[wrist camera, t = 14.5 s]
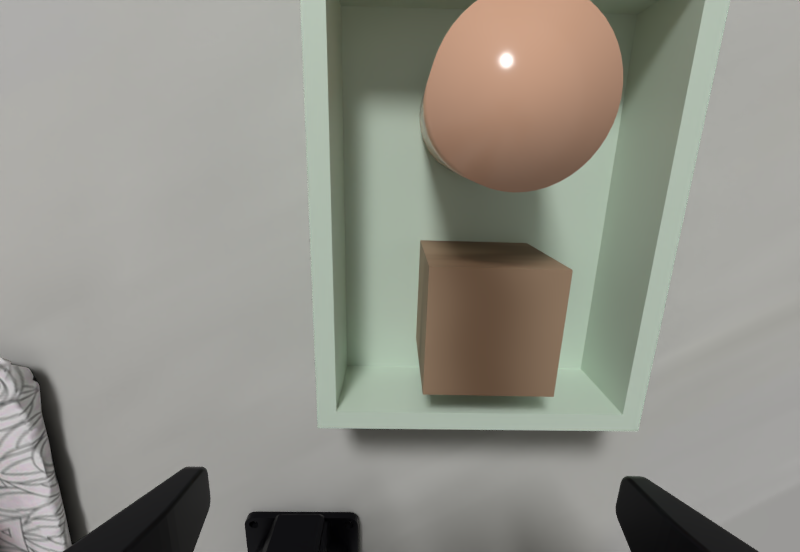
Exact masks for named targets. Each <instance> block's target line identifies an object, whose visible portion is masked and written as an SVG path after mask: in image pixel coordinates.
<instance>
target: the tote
mask: <svg viewBox="0 0 800 552" xmlns="http://www.w3.org/2000/svg"><path fill="white" fill-rule="evenodd" d="M476 1H477V0H300V11H301V35H302V59H303V84H304V108H305V132H306V156H307V181H308V205H309V229H310V254H311V278H312V302H313V327H314V351H315V375H316V399H317V424H318V428H355V429H455V430H555V431H638V430H639V425H640V420H641V416H642V411H643V406H644V402H645V397H646V392H647V388H648V383H649V378H650V373H651V369H652V364H653V359H654V355H655V350H656V345H657V341H658V336H659V331H660V327H661V322H662V317H663V313H664V308H665V303H666V299H667V294H668V289H669V285H670V280H671V275H672V271H673V266H674V261H675V257H676V252H677V247H678V243H679V238H680V233H681V228H682V224H683V219H684V214H685V210H686V205H687V200H688V196H689V191H690V186H691V182H692V177H693V172H694V168H695V163H696V158H697V154H698V149H699V144H700V140H701V135H702V130H703V126H704V121H705V116H706V112H707V107H708V102H709V98H710V93H711V88H712V84H713V79H714V74H715V69H716V65H717V60H718V55H719V51H720V46H721V41H722V37H723V32H724V27H725V23H726V18H727V13H728V9H729V4H730V0H590V1H591V2H592V3H593V4H594V5H595V6H596V7H598V9H599V10H600V11H601V12H602V14H603V15H604V16H605V17H606V19H607V21H608V22H609V24H610V26H611V27H612V29H613V31H614V34H615V36H616V39H617V41H618V44H619V48H620V52H621V56H622V64H623V88H622V96H621V101H620V105H619V109H618V113H617V115H616V118H615V121H614V123H613V126H612V127H611V129H610V131H609V133H608V135H607V137H606V139H605V140H604V142H603V143H602V145H601V146H600V148H599V149H598V150H597V151H596V153H595V154H594V155H593V156H592V157H591V159H590V160H588V161H587V162H586V163H585V164H584V165H583V166H582V167H581V168H580V169H579V170H577V171H576V172H575V173H573V174H572V175H571V176H569V177H567V178H565V179H564V180H562V181H560V182H558V183H556V184H554V185H551V186H549V187H546V188H542V189H539V190H535V191H529V192H504V191H498V190H494V189H490V188H488V187H485V186H483V185H480V184H478V183H476V182H473V181H471V180H469V179H467V178H465V177H462V176H460V175H458V174H456V173H454V172H451V171H450V170H448V169H446V168H445V167H443V166H442V165H441V164H439V163H438V162H437V161H436V160H435V159H434V158H433V156H432V155H431V154H430V152H429V151H428V149H427V147H426V145H425V143H424V140H423V138H422V134H421V130H420V123H419V113H420V105H421V101H422V97H423V94H424V90H425V87H426V84H427V81H428V78H429V75H430V72H431V68H432V65H433V62H434V59H435V57H436V54H437V51H438V49H439V47H440V45H441V43H442V41H443V39H444V37H445V35H446V34H447V32H448V31H449V29H450V28H451V26H452V25H453V23H454V22H455V21H456V20H457V19H458V18H459V16H460V15H461V14H462V13H463V12H464V11H465V10H466V9H467V8H468V7H470V6H471V5H472V4H473V3H474V2H476ZM420 240H432V241H471V242H509V243H528V244H529V245H531V246H533V247H534V248H536V249H538V250H539V251H541V252H543V253H545V254H546V255H548V256H550V257H551V258H553V259H555V260H556V261H558V262H560V263H562V264H563V265H565V266H567V267H568V268H570V269H572V270H573V273H572V280H571V286H570V293H569V299H568V306H567V312H566V319H565V326H564V332H563V339H562V345H561V352H560V359H559V365H558V372H557V378H556V385H555V392H554V397H531V396H477V395H423V392H422V384H421V376H420V368H419V359H418V351H417V343H416V327H417V304H418V281H419V258H420Z"/></svg>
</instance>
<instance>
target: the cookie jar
mask: <svg viewBox="0 0 800 552" xmlns="http://www.w3.org/2000/svg"><path fill="white" fill-rule="evenodd" d="M71 545H72V544H71V539H70V534H69V529H68V525H67V520H66V515H65V511H64V506H63V502H62V498H61V493H60V489H59V484H58V480H57V476H56V471H55V466H54V462H53V457H52V453H51V448H50V444H49V440H48V436H47V432H46V428H45V424H44V420H43V416H42V410H41V398H40V386H39V384H38V382H37V380H36V378H35V377H34V375H33V374H32V372H31V371H30V369H29V368H26V367H21V366H16V365H11V361H9V360H6V359H4V358H1V357H0V552H63V551H64V550H66V549H67V548H69V547H70V546H71Z"/></svg>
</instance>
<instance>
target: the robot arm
mask: <svg viewBox="0 0 800 552" xmlns="http://www.w3.org/2000/svg"><path fill="white" fill-rule="evenodd" d="M209 507H210V489H209V480H208V473H207V470H206V468H204V467H185V468H183V469H182V470H180V471H179V472H177V473H176V474H174V475H173V476H171V477H170V478H169V479H167V480H166V481H164V482H163V483H161V484H160V485H158V486H157V487H155V488H154V489H153V490H151V491H150V492H148V493H147V494H145V495H144V496H142V497H141V498H140V499H138V500H137V501H135V502H134V503H132V504H131V505H129V506H128V507H127V508H125V509H124V510H122V511H121V512H119V513H118V514H116V515H115V516H113V517H112V518H111V519H109V520H108V521H106V522H105V523H103V524H102V525H100V526H99V527H98V528H96V529H95V530H93V531H92V532H90V533H89V534H87V535H86V536H84V537H83V538H82V539H80V540H79V541H77V542H76V543H74V544H73V545H71V546H70V547H69V548H67V549H66V550H64V551H63V552H193V551H194V548H195V545H196V543H197V540H198V537H199V535H200V532H201V529H202V527H203V524H204V521H205V519H206V516H207V513H208V510H209ZM616 515H617V518H618V521H619V523H620V526H621V528H622V531H623V533H624V536H625V538H626V540H627V543H628V545H629V548H630V550H631V552H758V551H757V550H755V549H754V548H752V547H751V546H749V545H748V544H746V543H745V542H743V541H742V540H740V539H738V538H737V537H735V536H734V535H732V534H731V533H729V532H728V531H726V530H725V529H723V528H722V527H720V526H719V525H717V524H716V523H714V522H712V521H711V520H709V519H708V518H706V517H705V516H703V515H702V514H700V513H699V512H697V511H696V510H694V509H693V508H691V507H689V506H688V505H686V504H685V503H683V502H682V501H680V500H679V499H677V498H676V497H674V496H673V495H671V494H670V493H668V492H667V491H665V490H663V489H662V488H660V487H659V486H657V485H656V484H654V483H653V482H651V481H650V480H648V479H646V478H644V477H640V476H626V477H624V478H623V479H622V481H621V485H620V489H619V494H618V498H617V503H616ZM254 521H255V522H254ZM349 522H351V523H349ZM245 530H246V539H247V548H248V552H359V533H358V516H357V515H356V514H354V513H350V512H252V513H250V514H249V515H248V517H247V519H246V522H245Z"/></svg>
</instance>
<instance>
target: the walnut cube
mask: <svg viewBox="0 0 800 552" xmlns="http://www.w3.org/2000/svg"><path fill="white" fill-rule="evenodd" d="M572 273H573V270H572V269H570V268H568V267H567V266H565V265H563V264H562V263H560V262H558V261H556V260H555V259H553V258H551V257H550V256H548V255H546V254H545V253H543V252H541V251H539V250H538V249H536V248H534V247H533V246H531V245H529V244H528V243H509V242H471V241H432V240H420V258H419V281H418V304H417V327H416V343H417V351H418V359H419V368H420V376H421V384H422V392H423V395H477V396H531V397H554V392H555V385H556V378H557V372H558V365H559V359H560V352H561V345H562V339H563V332H564V326H565V319H566V312H567V306H568V299H569V293H570V286H571V280H572Z"/></svg>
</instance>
